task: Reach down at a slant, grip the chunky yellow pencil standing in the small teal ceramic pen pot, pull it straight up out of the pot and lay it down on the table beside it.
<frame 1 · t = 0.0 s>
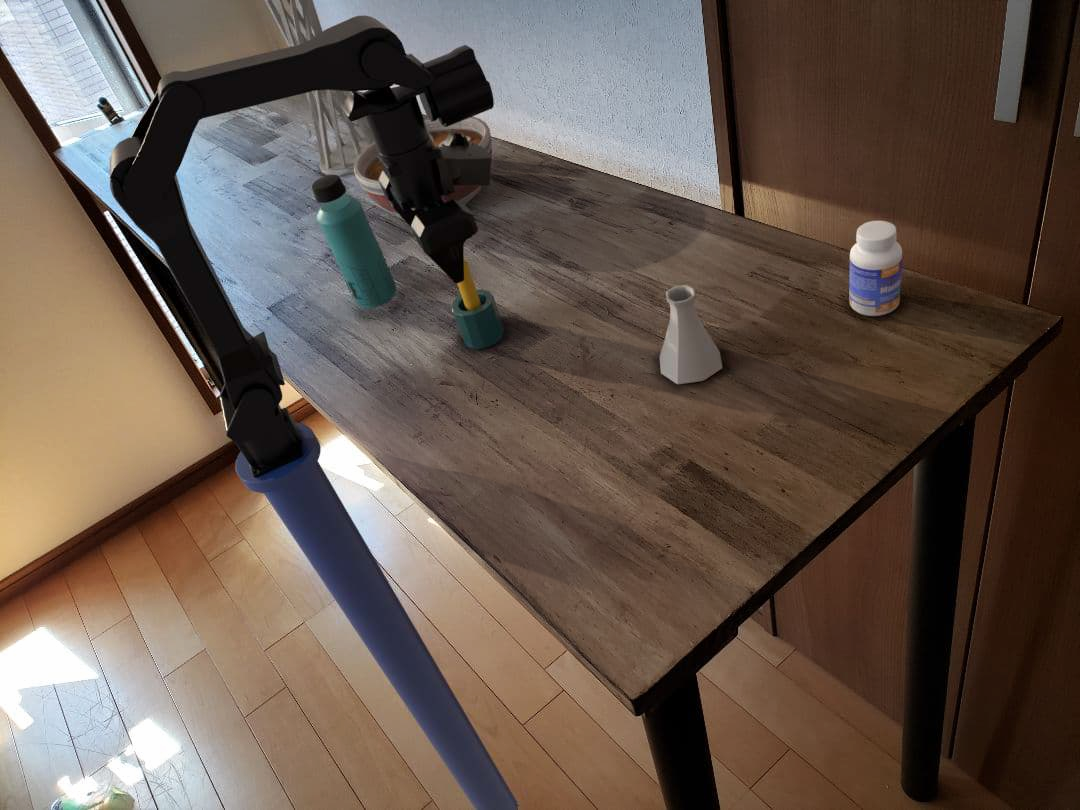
hand: (447, 264, 99), 13 cm above the table, tool pointing down, fingers open, 9 cm apart
beverage bottle: (380, 305, 122), on the table
flask: (690, 365, 96), on the table
bowl: (440, 202, 141), on the table
pill bottle: (874, 304, 97), on the table
vase: (354, 159, 164), on the table
pencil: (482, 332, 109), resting on pen pot
pen pot: (484, 335, 110), on the table
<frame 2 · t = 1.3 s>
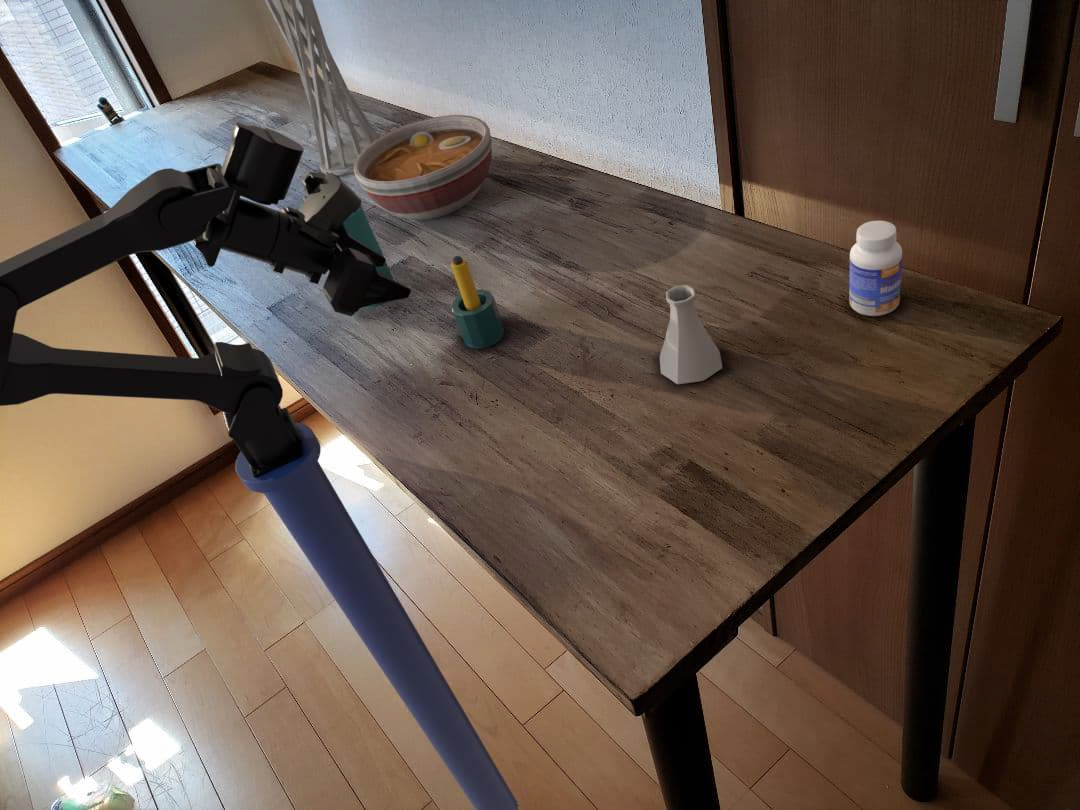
hand: (396, 277, 99), 13 cm above the table, tool tilted 45°, fingers open, 9 cm apart
nothing on the table moved.
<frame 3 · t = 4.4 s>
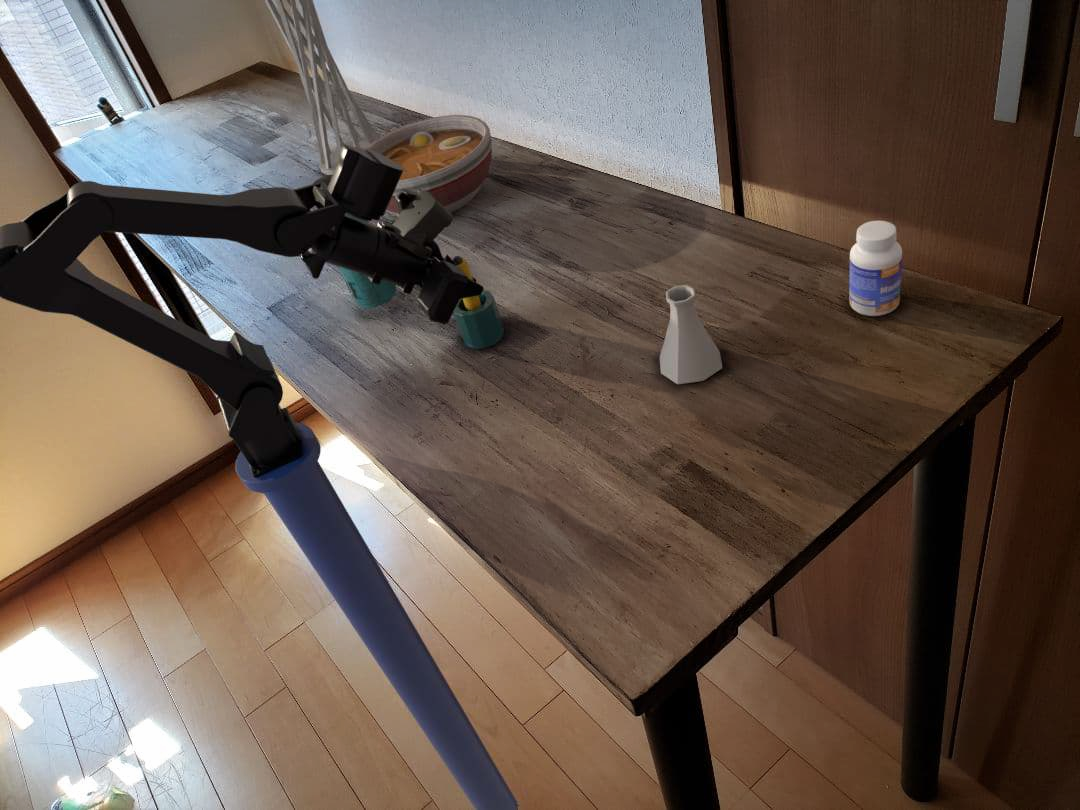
hand: (478, 287, 105), 7 cm above the table, tool tilted 45°, fingers closed on pencil, 2 cm apart
pencil: (482, 332, 109), point 1 cm above the table, touching gripper, pen pot
everything else where it was.
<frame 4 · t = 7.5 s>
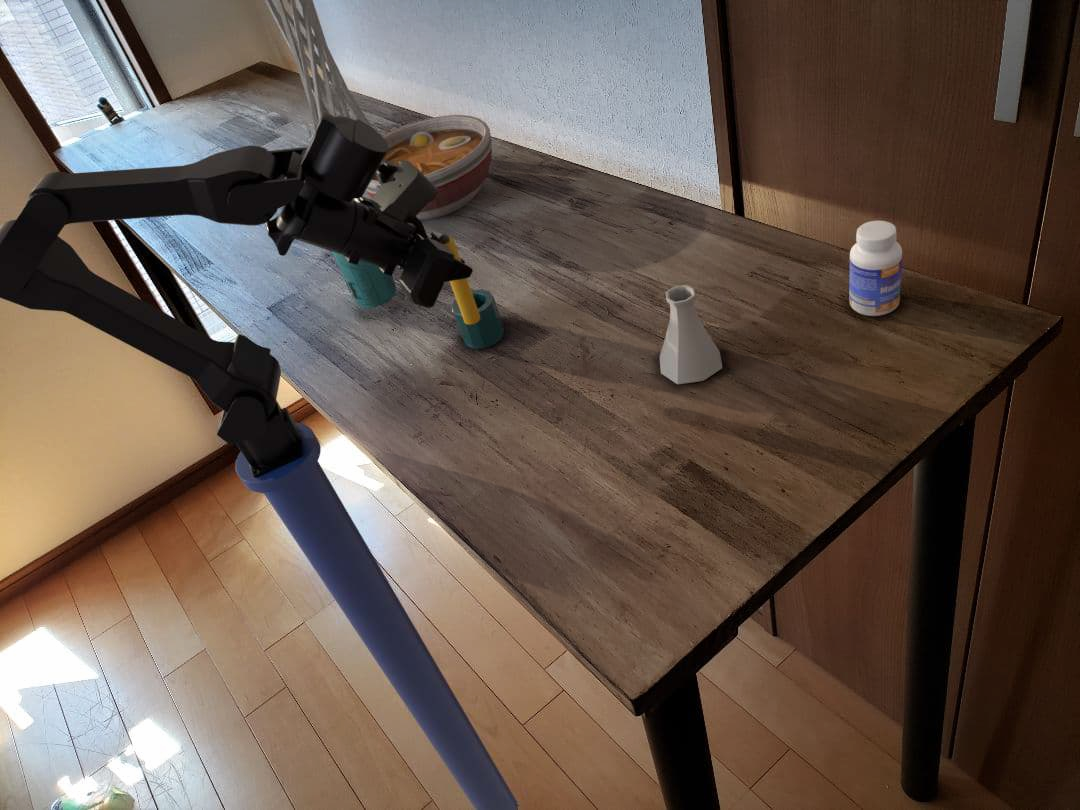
hand: (467, 269, 96), 14 cm above the table, tool tilted 45°, fingers closed on pencil
pencil: (472, 319, 100), point 7 cm above the table, touching gripper
everything else where it was.
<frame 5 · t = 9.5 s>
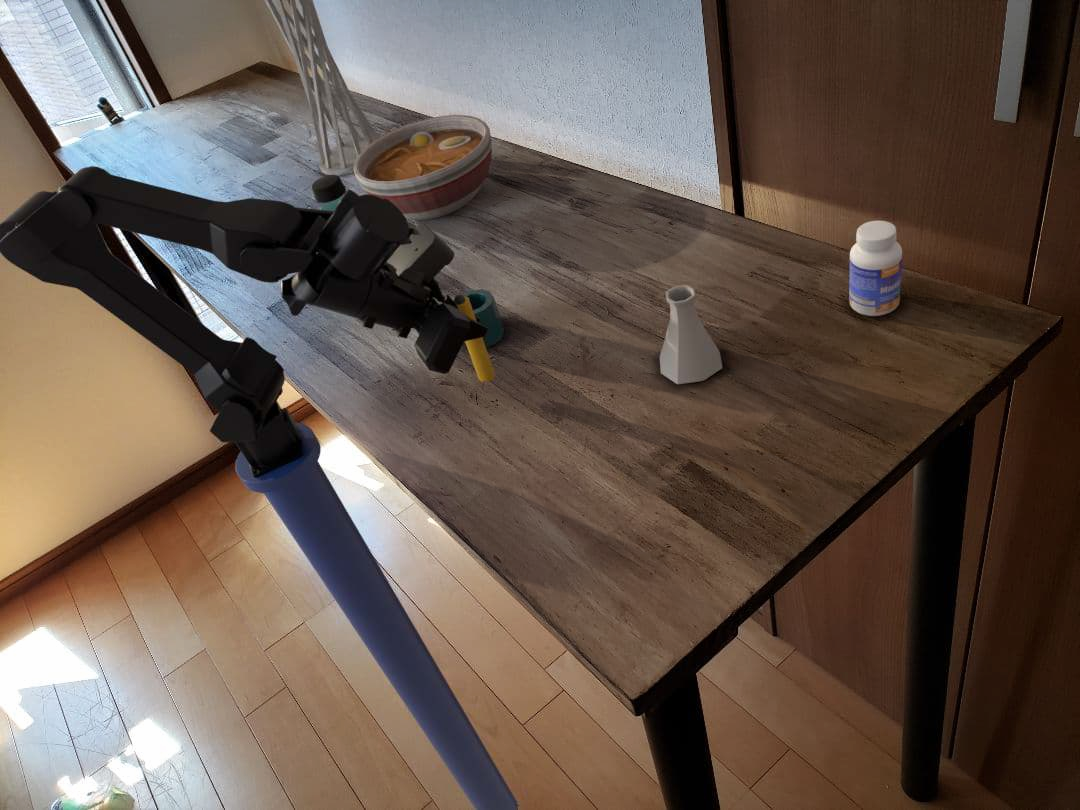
hand: (482, 327, 96), 9 cm above the table, tool tilted 45°, fingers closed on pencil, 2 cm apart
pencil: (486, 376, 99), point 2 cm above the table, touching gripper
everything else where it was.
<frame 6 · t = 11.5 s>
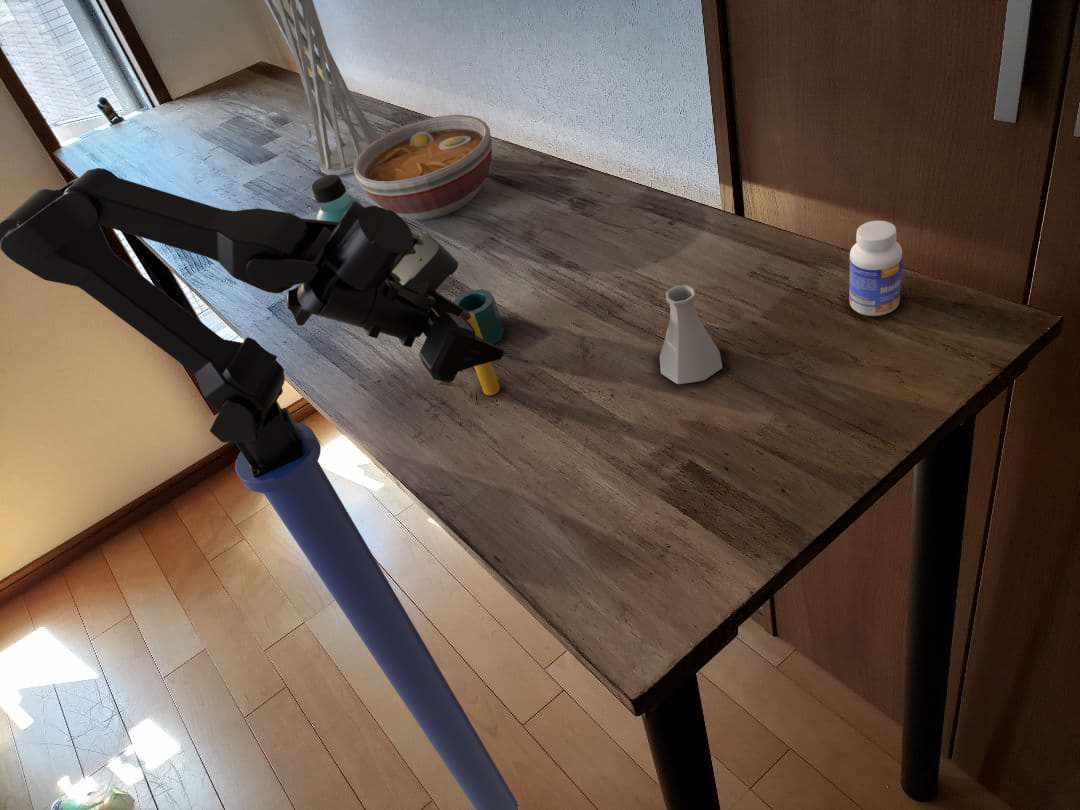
hand: (485, 335, 96), 8 cm above the table, tool tilted 45°, fingers open, 9 cm apart
pencil: (491, 390, 101), on the table
everything else where it was.
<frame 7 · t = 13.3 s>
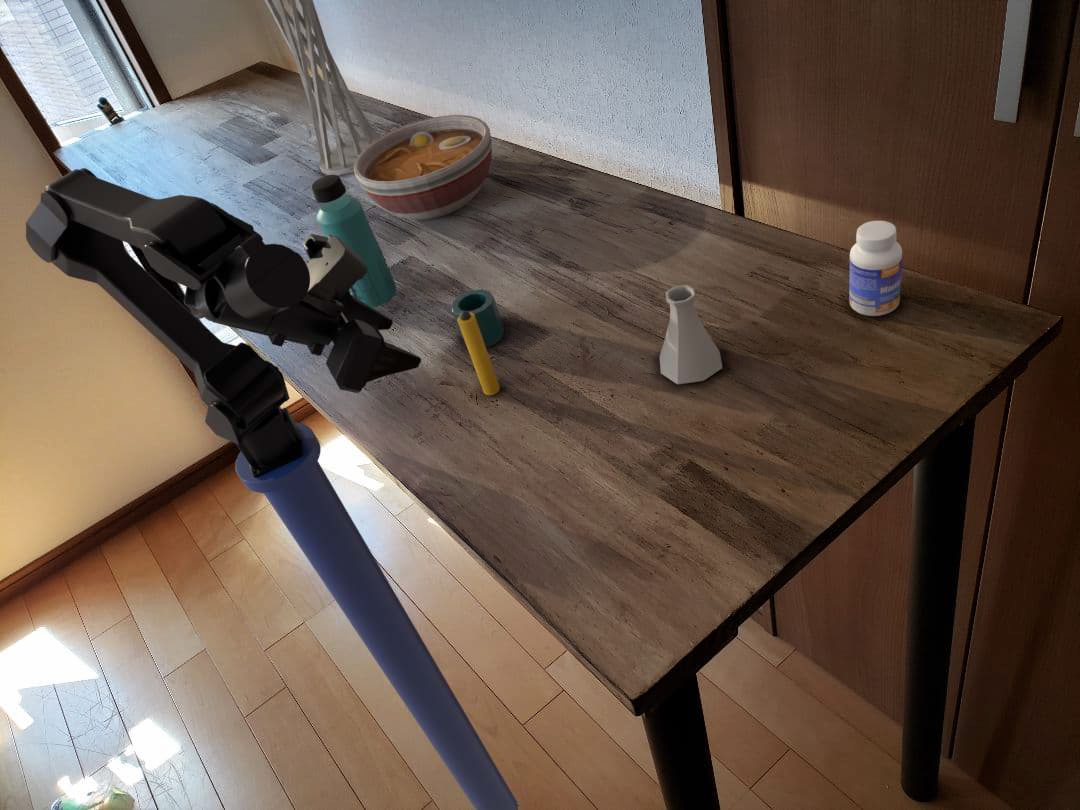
hand: (404, 343, 92), 11 cm above the table, tool tilted 45°, fingers open, 9 cm apart
nothing on the table moved.
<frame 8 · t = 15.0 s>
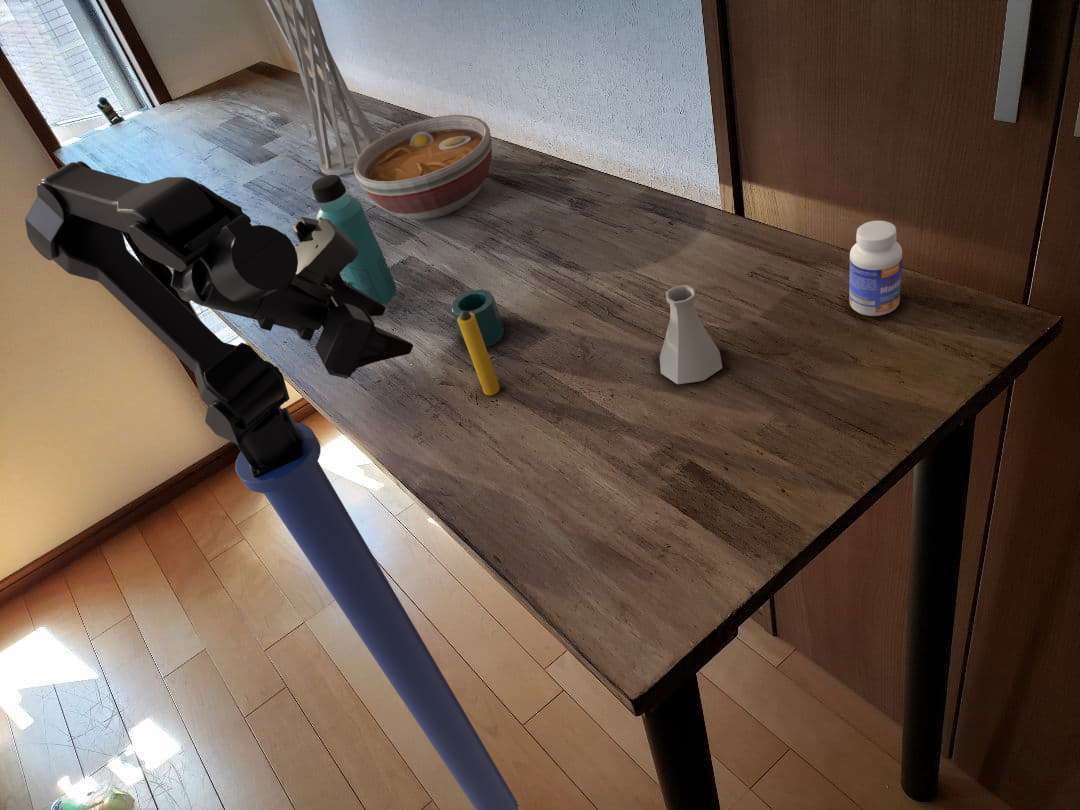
hand: (397, 329, 91), 14 cm above the table, tool tilted 45°, fingers open, 9 cm apart
nothing on the table moved.
at the end: pencil touching table; pencil inside the target area (4.6 cm from its centre), on the table; the gripper is holding nothing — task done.
